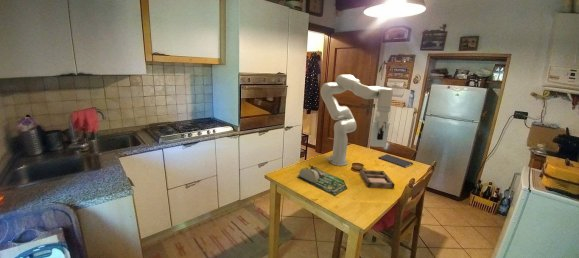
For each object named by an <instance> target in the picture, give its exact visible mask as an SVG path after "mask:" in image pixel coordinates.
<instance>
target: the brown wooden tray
mask: <svg viewBox="0 0 579 258" xmlns="http://www.w3.org/2000/svg"><path fill="white" fill-rule="evenodd" d="M359 175H360V177H361V178H362V181H364V183H365V184H366V186H367V188H378V189H395V186H396V185H395V183H394V182H393V180H392V179H391V178H390V177H389V176H388V174H386V172H385V171H384V170H375V169H374V170H373V169H372V170H371V169H360V170H359ZM368 178H380V179H385V180H386V182H387V183H383V182H370V181H369V179H368Z"/></svg>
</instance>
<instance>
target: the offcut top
mask: <svg viewBox="0 0 579 258" xmlns="http://www.w3.org/2000/svg"><path fill="white" fill-rule="evenodd" d="M368 179H369V181H370V182H383V183H387V182H386V180H385V179H380V178H368Z"/></svg>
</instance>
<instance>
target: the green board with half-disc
mask: <svg viewBox="0 0 579 258" xmlns="http://www.w3.org/2000/svg"><path fill="white" fill-rule="evenodd" d="M308 167H310V168H308ZM308 167H304V168H301V169H300V170H299V173H298V176H296V178H297V179H299V180H301V181H303V182H305V183H307V184H309V185H311V186H312V187H315V188H317V189H319V190H321V191H323V192H325V193H328V194H330V195H331V196H334V197H336V196H337V195H339V194H341V193H343V192H344V191H346V190H347V189H348V187H347V185H346V182H345V180H344V179H343V178H340V177H338V176H335V175H333V174H330V173H328V172H326V171H323V170H321V169H319V168H318V167H316V166H313V165H311V164H308Z"/></svg>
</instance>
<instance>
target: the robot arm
mask: <svg viewBox="0 0 579 258" xmlns="http://www.w3.org/2000/svg"><path fill="white" fill-rule="evenodd" d="M346 91H350V92H352V93H353V94H354V95H355V96H357V97H360V98H362V99H365V100H372V99H373V100H375V99H377V102H376V109H375V110H376V112H375V116H374V120H373V121H376V122H377V128H378V129H379V133H378V136H377V140H383V134H384V131H385V129H386V128H387V124H388V122H389V113H390V112H391V105H392V100H393V93H394V89H393V88H392V87H382V86H379V85H370V86H368V85H365V84H362V83H361V80H360V79H358V78H356V77H355V76H354V75H352V74H349V73H348V74H345V73H344V74H343V73H342V74H339V75H337V76H336V79H335V81H332V82H331V81H330V82H325V83H323V84H322V86H321V88H320V96H321V98H322V100H323V102H324V104H325V106H326V110H327V111H328V114H329V115H330V118H331V119H332V120H334V121H336V122H335V123H334V125H333V133H334V135H333V136H334V137H333V146H332V154H331V155H330V156H328V155H327V156H325V160H328V161H329V163H330V164H332V165H335V166H338V167H339V166H341V167H342V166H343V167H344V166H347V165H348V160H346V158H347V151H348V150H347V149H348V139H349V138H348V135H347V134H348V133H352V132H355V131H356V130H357V121H356V119H355V117H354V115H353V113H352V111H351V109H350V108H349V107H348V106H346V105H340V104H339V102H338V100H337V98H336V97H335V96H333V95H338V94H342V93H344V92H346ZM381 127H382V128H381ZM381 129H382V130H381ZM380 130H381V131H380Z"/></svg>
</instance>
